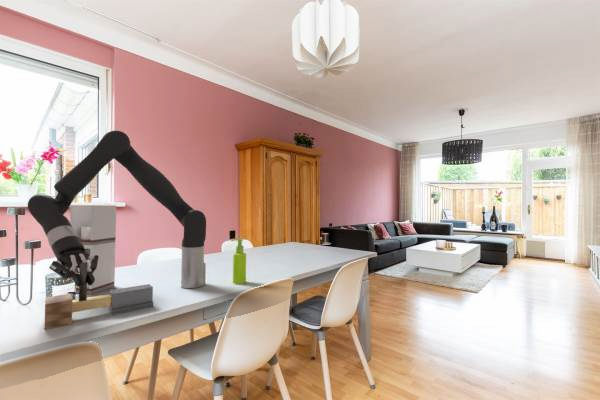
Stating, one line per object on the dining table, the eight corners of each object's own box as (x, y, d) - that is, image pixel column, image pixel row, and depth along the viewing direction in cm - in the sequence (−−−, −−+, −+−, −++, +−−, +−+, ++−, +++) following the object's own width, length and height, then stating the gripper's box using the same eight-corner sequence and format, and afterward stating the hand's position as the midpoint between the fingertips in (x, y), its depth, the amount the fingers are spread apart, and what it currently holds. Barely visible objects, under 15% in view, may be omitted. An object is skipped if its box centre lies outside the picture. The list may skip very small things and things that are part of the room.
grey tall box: (92, 285, 125) (95, 205, 126) (114, 286, 123) (116, 205, 124) (67, 292, 113) (70, 205, 114) (91, 294, 112) (93, 205, 113)
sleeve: (148, 301, 104) (148, 283, 104) (153, 306, 98) (153, 287, 98) (108, 309, 96) (109, 289, 96) (111, 315, 90) (112, 294, 91)
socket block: (70, 315, 90) (71, 293, 90) (71, 323, 83) (72, 299, 84) (45, 320, 86) (45, 297, 86) (44, 329, 80) (45, 304, 80)
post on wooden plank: (126, 300, 97) (127, 257, 98) (127, 302, 95) (128, 258, 95) (56, 312, 85) (58, 264, 86) (57, 315, 83) (58, 265, 84)
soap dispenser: (231, 281, 133) (232, 238, 133) (246, 280, 134) (247, 238, 134) (229, 284, 127) (230, 239, 128) (245, 284, 128) (245, 239, 128)
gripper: (44, 237, 86) (66, 282, 80) (93, 233, 98) (115, 272, 93) (34, 253, 88) (55, 298, 82) (83, 247, 100) (104, 286, 95)
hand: (87, 284), depth 88 cm, fingers closed on post on wooden plank, 2 cm apart
